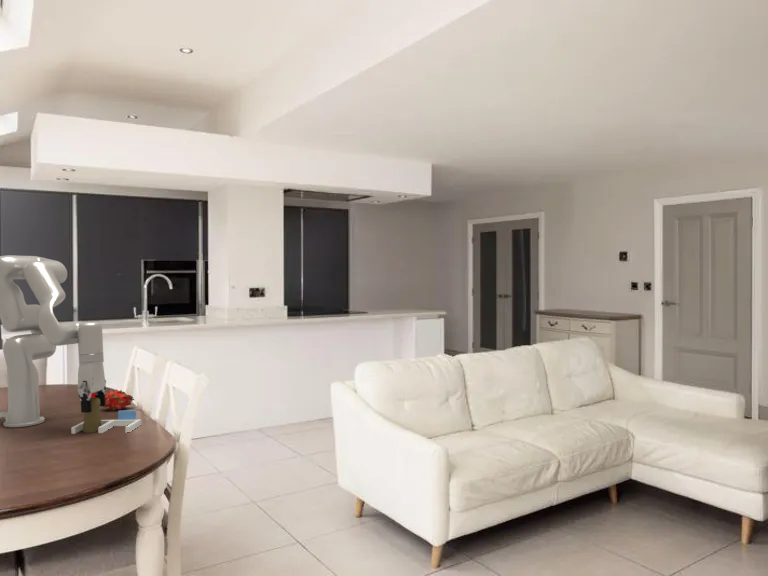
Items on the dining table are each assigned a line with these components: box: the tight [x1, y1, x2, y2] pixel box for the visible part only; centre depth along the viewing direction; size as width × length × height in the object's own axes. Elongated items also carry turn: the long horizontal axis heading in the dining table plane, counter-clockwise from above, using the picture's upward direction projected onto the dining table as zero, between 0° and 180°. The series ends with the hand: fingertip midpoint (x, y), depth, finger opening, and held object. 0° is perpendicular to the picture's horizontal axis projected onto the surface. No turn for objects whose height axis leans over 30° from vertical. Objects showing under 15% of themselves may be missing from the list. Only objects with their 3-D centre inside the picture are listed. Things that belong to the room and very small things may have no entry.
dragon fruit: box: [102, 389, 135, 411], centre depth 236 cm, size 8×8×12 cm
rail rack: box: [70, 409, 142, 435], centre depth 206 cm, size 19×11×5 cm, turn 90°
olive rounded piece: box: [82, 397, 102, 434], centre depth 205 cm, size 6×6×11 cm
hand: (93, 409), depth 204 cm, fingers open, 9 cm apart
